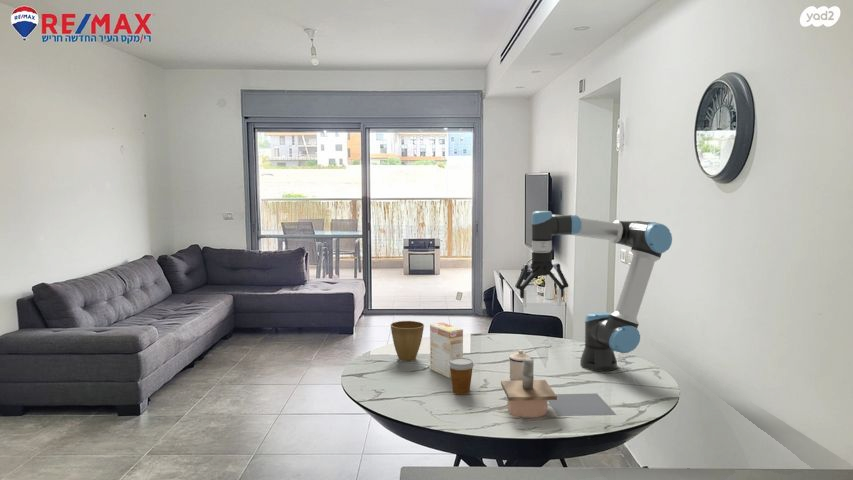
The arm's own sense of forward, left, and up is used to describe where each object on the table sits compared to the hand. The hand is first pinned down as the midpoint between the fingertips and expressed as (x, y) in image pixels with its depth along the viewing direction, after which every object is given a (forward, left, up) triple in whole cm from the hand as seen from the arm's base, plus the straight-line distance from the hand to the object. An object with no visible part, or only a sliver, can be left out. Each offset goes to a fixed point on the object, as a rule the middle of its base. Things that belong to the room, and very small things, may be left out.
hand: (541, 306), depth 226 cm
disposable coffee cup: (+32, +7, -31) cm, 45 cm away
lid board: (+11, +27, -24) cm, 38 cm away
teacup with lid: (+7, -8, -31) cm, 33 cm away
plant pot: (+52, -35, -31) cm, 70 cm away
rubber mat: (-8, +23, -31) cm, 39 cm away
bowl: (+11, +27, -31) cm, 42 cm away
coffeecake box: (+36, -16, -31) cm, 50 cm away
